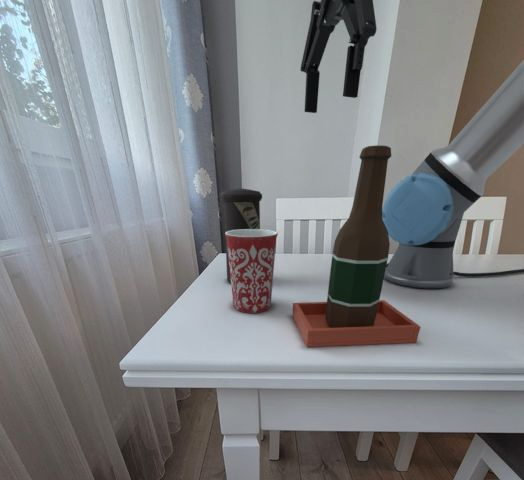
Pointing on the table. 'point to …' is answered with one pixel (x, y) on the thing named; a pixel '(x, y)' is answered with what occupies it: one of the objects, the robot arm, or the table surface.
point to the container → (240, 213)
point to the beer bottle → (361, 248)
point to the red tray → (382, 332)
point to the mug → (251, 268)
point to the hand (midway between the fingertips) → (328, 105)
